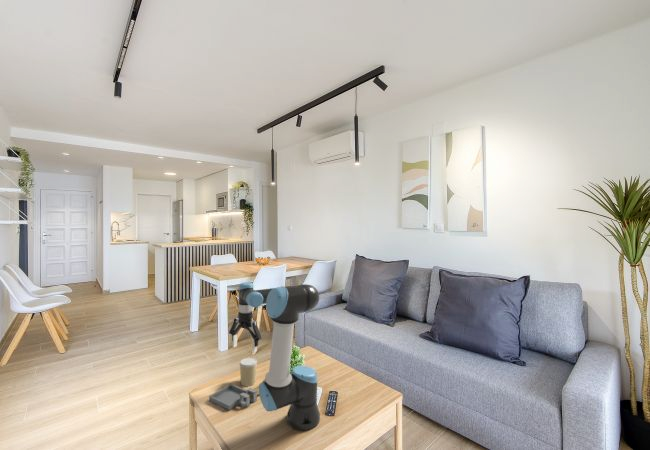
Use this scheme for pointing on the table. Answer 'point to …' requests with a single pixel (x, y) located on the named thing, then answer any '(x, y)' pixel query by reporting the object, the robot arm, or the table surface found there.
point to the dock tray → (233, 397)
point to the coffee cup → (248, 371)
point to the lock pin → (255, 389)
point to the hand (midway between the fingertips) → (244, 349)
